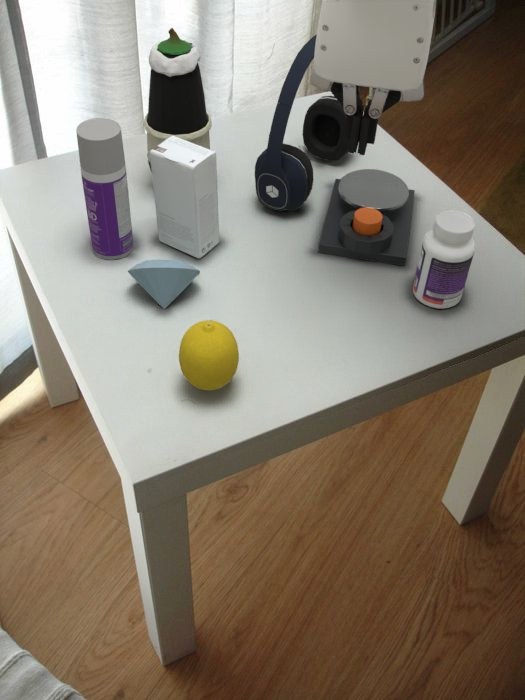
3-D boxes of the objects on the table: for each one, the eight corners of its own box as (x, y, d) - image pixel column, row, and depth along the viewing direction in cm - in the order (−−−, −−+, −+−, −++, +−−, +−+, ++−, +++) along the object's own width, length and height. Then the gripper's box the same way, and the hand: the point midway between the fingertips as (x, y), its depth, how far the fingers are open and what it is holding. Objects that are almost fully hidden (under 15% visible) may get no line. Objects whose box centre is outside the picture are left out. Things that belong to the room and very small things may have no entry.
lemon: (194, 414, 73) (192, 354, 67) (171, 375, 76) (167, 314, 70) (248, 395, 75) (250, 335, 69) (222, 357, 78) (223, 297, 72)
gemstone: (192, 306, 78) (192, 256, 78) (118, 307, 79) (118, 258, 79) (206, 311, 86) (206, 265, 86) (138, 312, 87) (138, 267, 87)
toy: (140, 199, 96) (127, 39, 82) (157, 165, 102) (147, 9, 88) (204, 208, 96) (202, 48, 82) (218, 172, 101) (217, 17, 87)
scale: (413, 198, 99) (417, 177, 97) (404, 269, 89) (408, 248, 87) (334, 186, 100) (337, 166, 98) (317, 255, 90) (319, 234, 88)
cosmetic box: (220, 242, 91) (220, 150, 82) (197, 262, 88) (195, 168, 80) (178, 223, 93) (174, 131, 85) (154, 242, 91) (148, 149, 82)
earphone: (314, 137, 108) (327, 3, 96) (360, 151, 106) (380, 16, 93) (244, 209, 96) (248, 66, 83) (294, 227, 94) (307, 82, 81)
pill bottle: (471, 298, 86) (493, 226, 79) (435, 316, 83) (454, 243, 77) (437, 271, 89) (455, 199, 82) (401, 288, 87) (417, 215, 80)
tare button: (381, 222, 91) (383, 209, 89) (378, 238, 88) (381, 225, 87) (354, 217, 91) (356, 205, 90) (350, 234, 89) (352, 221, 88)
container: (84, 253, 89) (65, 134, 78) (105, 230, 92) (90, 113, 81) (120, 264, 88) (107, 145, 77) (140, 241, 91) (130, 123, 80)
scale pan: (410, 178, 97) (411, 174, 96) (405, 216, 91) (406, 213, 91) (343, 168, 98) (343, 164, 97) (333, 205, 92) (334, 202, 92)
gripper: (477, -54, 67) (436, 139, 80) (305, -74, 69) (292, 118, 82) (475, -23, 61) (430, 178, 74) (288, -45, 63) (277, 155, 76)
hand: (358, 146), depth 78 cm, fingers closed
